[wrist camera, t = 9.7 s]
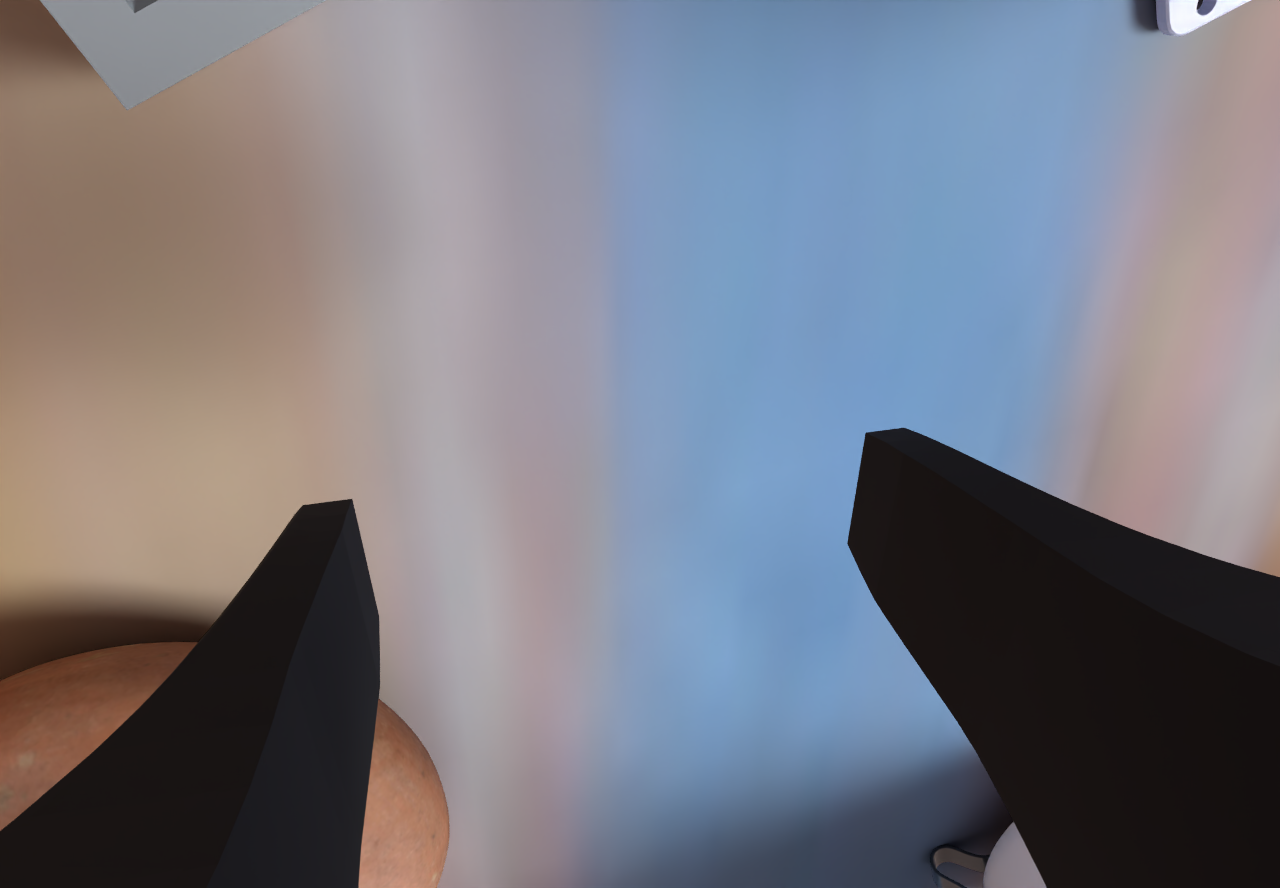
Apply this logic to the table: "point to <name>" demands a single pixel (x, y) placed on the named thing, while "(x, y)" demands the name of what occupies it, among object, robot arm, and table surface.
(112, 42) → the slate box
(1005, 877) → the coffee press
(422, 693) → the table surface
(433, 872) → the ceramic jug
